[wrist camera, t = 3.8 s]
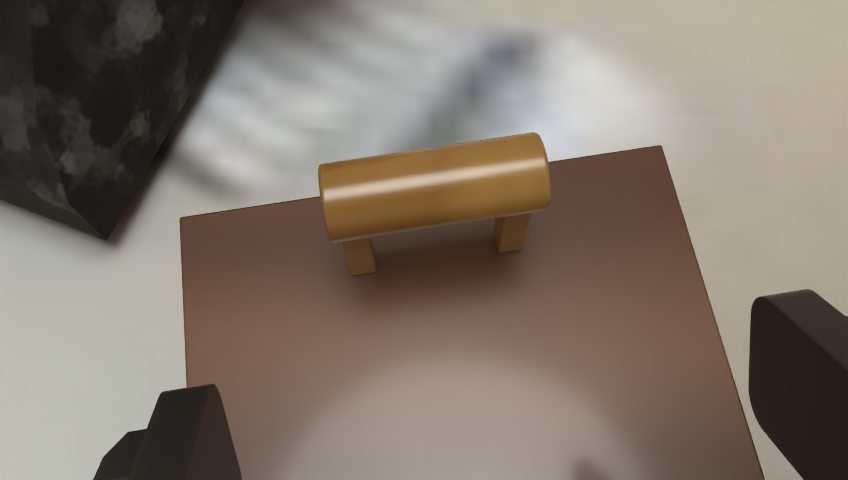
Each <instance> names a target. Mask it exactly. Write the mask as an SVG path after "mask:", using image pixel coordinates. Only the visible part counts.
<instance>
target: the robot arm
mask: <svg viewBox="0 0 848 480" xmlns="http://www.w3.org/2000/svg"><path fill="white" fill-rule="evenodd" d="M749 396H750V402H751V406H752V409H753V412H754V415H755V417H756V419H757V421H758V423H759V425H760V427H761V428H762V429H763V431H764V432H765V433H766V434H767V435H768V437H769V438H770V439H771V440H772V442H773V443H774V444H775V445H776V446H777V448H778V449H779V450H780V451H781V453H782V454H783V455H784V456H785V457H786V459H787V460H788V461H789V462H790V464H791V465H792V466H793V467H794V468H795V470H796V471H797V472H798V473H799V475H800V476H801V477H802V478H803V479H804V480H848V316H847V317H845V316H844V315H843V314H842V313H840V312H839V311H838V310H837V309H835V308H834V307H833V306H832V305H830V304H829V303H828V302H827V301H825V300H824V299H823V298H822V297H820V296H819V295H818V294H817V293H815V292H814V291H812V290H808V289H806V290H799V291H793V292H787V293H781V294H775V295H768V296H762V297H758V298H757V299H755V301H754V302H753V305H752V309H751V325H750V356H749ZM93 480H242V476H241V471H240V467H239V463H238V459H237V455H236V452H235V448H234V444H233V440H232V437H231V433H230V429H229V425H228V421H227V418H226V414H225V410H224V406H223V403H222V399H221V396H220V393H219V390H218V388H217V387H216V385H214V384H208V385H202V386H195V387H189V388H183V389H177V390H170V391H164V392H162V393H161V394H160V396H159V398H158V400H157V403H156V406H155V408H154V411H153V414H152V416H151V419H150V422H149V424H148V427H147V429H144V430H138V431H131V432H127V433H126V434H125V436H124V437H123V438H122V439H121V440H120V441H119V442H118V443H117V444H116V445H115V446H114V447H113V448H112V449H111V450H110V451H109V452H108V453H107V454H106V455H105V456H104V457H103V459H102V461H101V463H100V466H99V468H98V470H97V472H96V475H95V477H94V479H93Z"/></svg>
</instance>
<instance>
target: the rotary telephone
mask: <svg viewBox="0 0 848 480" xmlns="http://www.w3.org/2000/svg"><path fill="white" fill-rule="evenodd" d="M243 1H244V0H0V199H2V200H5V201H7V202H10V203H12V204H15V205H17V206H20V207H22V208H25V209H28V210H30V211H33V212H35V213H38V214H40V215H43V216H45V217H48V218H50V219H53V220H56V221H58V222H61V223H63V224H66V225H68V226H71V227H73V228H76V229H78V230H81V231H83V232H86V233H89V234H91V235H94V236H96V237H99V238H101V239H104V240H106V241H107V239H108V237H109V236H110V234H111V232H112V230H113V229H114V227H115V225H116V223H117V221H118V220H119V218H120V216H121V214H122V213H123V211H124V209H125V207H126V206H127V204H128V202H129V200H130V199H131V197H132V195H133V193H134V192H135V190H136V188H137V186H138V185H139V183H140V181H141V179H142V178H143V176H144V174H145V172H146V171H147V169H148V167H149V165H150V164H151V162H152V160H153V158H154V157H155V155H156V153H157V151H158V150H159V148H160V146H161V144H162V143H163V141H164V139H165V137H166V136H167V134H168V132H169V130H170V129H171V127H172V125H173V123H174V122H175V120H176V118H177V116H178V115H179V113H180V111H181V109H182V108H183V106H184V104H185V102H186V101H187V99H188V97H189V95H190V94H191V92H192V90H193V88H194V87H195V85H196V83H197V81H198V80H199V78H200V76H201V74H202V73H203V71H204V69H205V67H206V66H207V64H208V62H209V60H210V59H211V57H212V55H213V53H214V51H215V50H216V48H217V46H218V44H219V43H220V41H221V39H222V37H223V36H224V34H225V32H226V30H227V29H228V27H229V25H230V23H231V22H232V20H233V18H234V16H235V15H236V13H237V11H238V9H239V8H240V6H241V4H242V2H243Z"/></svg>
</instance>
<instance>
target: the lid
mask: <svg viewBox="0 0 848 480" xmlns="http://www.w3.org/2000/svg"><path fill="white" fill-rule="evenodd" d="M318 179H319V189H320V197H313V198H306V199H300V200H293V201H286V202H280V203H273V204H267V205H260V206H253V207H247V208H240V209H233V210H227V211H220V212H213V213H207V214H200V215H193V216H187V217H181V218H180V240H181V263H182V287H183V311H184V334H185V358H186V382H187V388H189V387H195V386H202V385H208V384H214V385H216V387H217V388H218V390H219V393H220V396H221V399H222V403H223V406H224V410H225V414H226V418H227V421H228V425H229V429H230V433H231V437H232V440H233V444H234V448H235V452H236V455H237V459H238V463H239V467H240V471H241V476H242V480H765V479H764V476H763V472H762V469H761V466H760V463H759V459H758V456H757V453H756V450H755V446H754V443H753V440H752V437H751V433H750V430H749V427H748V424H747V421H746V417H745V414H744V411H743V408H742V404H741V401H740V398H739V395H738V391H737V388H736V385H735V382H734V378H733V375H732V372H731V369H730V365H729V362H728V359H727V356H726V353H725V349H724V346H723V343H722V340H721V336H720V333H719V330H718V327H717V323H716V320H715V317H714V314H713V310H712V307H711V304H710V301H709V297H708V294H707V291H706V288H705V285H704V281H703V278H702V275H701V272H700V268H699V265H698V262H697V259H696V255H695V252H694V249H693V246H692V242H691V239H690V236H689V233H688V229H687V226H686V223H685V220H684V217H683V213H682V210H681V207H680V204H679V200H678V197H677V194H676V191H675V187H674V184H673V181H672V178H671V174H670V171H669V168H668V165H667V161H666V158H665V155H664V152H663V149H662V146H661V145H658V146H652V147H645V148H638V149H632V150H625V151H619V152H612V153H605V154H599V155H592V156H585V157H579V158H572V159H565V160H559V161H552V162H548V159H547V155H546V151H545V147H544V144H543V142H542V140H541V138H540V136H539V135H538V134H537V133H534V132H533V133H526V134H519V135H512V136H506V137H499V138H492V139H486V140H479V141H472V142H465V143H459V144H452V145H445V146H439V147H432V148H425V149H418V150H412V151H405V152H398V153H392V154H385V155H378V156H372V157H365V158H358V159H351V160H345V161H338V162H331V163H325V164H321V165H319V169H318Z"/></svg>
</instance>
